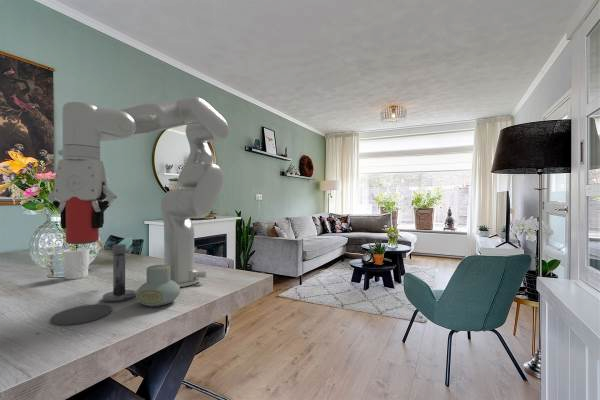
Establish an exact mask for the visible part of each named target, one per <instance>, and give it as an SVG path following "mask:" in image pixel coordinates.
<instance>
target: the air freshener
mask: <svg viewBox="0 0 600 400" xmlns="http://www.w3.org/2000/svg"><path fill="white" fill-rule="evenodd" d="M180 292H181V287H179V285H178V284H177V283H176V282H174V281H172V280H170V266H169V265H164V264H155V265H150V266H148V267H147V268H146V282H145V283H143V284H142V285H140V287H139V288H137V290H136V291H135V297H136V300H137V301H138V302H139V303H140V304H142V305H143V306H147V307H150V308H158V307H162V306H164V305H168V304H171V303H172V302H174V301H175V300H176V299H177V298H178V297H179V295H180Z"/></svg>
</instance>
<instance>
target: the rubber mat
mask: <svg viewBox="0 0 600 400" xmlns="http://www.w3.org/2000/svg"><path fill="white" fill-rule="evenodd" d="M112 311H113V310H112V306H110V305H108V304H98V303H97V304H87V305H80V306H75V307H72V308H68V309H67V308H66V309H65V310H62V311H60V312H57V313H55V314H54V315H52V317H51V318H50V322H51V324H53V325H56V326H76V325H77V326H78V325H82V324H87V323H90V322H94V321H97V320H101V319H103V318H105V317H107V316H109V315H110V314H111V313H112Z"/></svg>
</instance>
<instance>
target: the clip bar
mask: <svg viewBox="0 0 600 400" xmlns="http://www.w3.org/2000/svg"><path fill="white" fill-rule="evenodd" d="M131 245H133V237H125V238H123V239H122V240H121V241H119V243H117V244H113V245H112V255H113V254H115V255H117V254H125V255H126V250H127V249H128V248H130V246H131Z"/></svg>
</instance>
